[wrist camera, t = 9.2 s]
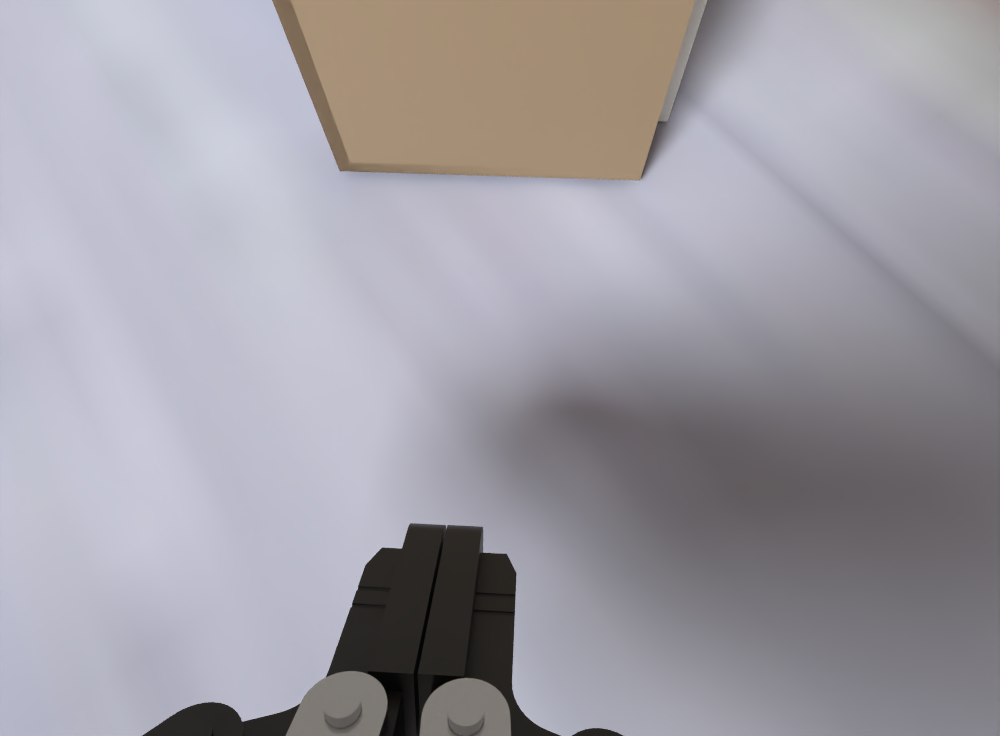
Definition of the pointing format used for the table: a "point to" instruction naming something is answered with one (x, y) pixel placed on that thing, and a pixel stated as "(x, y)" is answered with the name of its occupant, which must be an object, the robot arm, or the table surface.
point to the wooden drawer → (488, 82)
